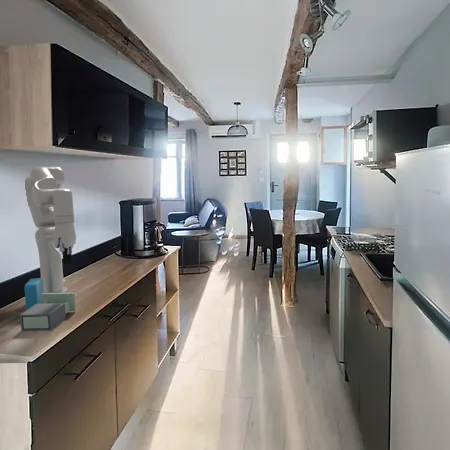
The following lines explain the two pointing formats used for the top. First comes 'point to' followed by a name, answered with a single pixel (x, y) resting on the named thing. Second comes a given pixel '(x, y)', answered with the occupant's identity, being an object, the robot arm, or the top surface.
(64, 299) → the tray
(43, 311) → the mailer sleeve
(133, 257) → the top surface
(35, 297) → the data package
